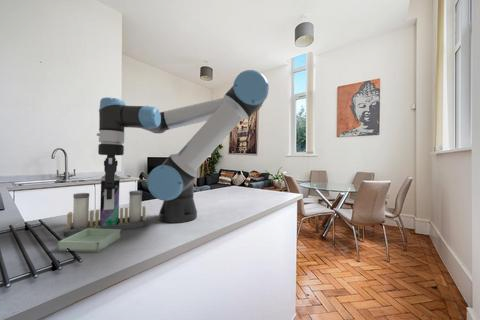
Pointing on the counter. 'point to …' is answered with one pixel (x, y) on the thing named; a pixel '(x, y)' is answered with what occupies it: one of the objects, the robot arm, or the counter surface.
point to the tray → (90, 240)
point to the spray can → (113, 214)
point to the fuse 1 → (80, 210)
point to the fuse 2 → (135, 206)
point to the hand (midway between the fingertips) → (109, 204)
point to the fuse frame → (70, 231)
